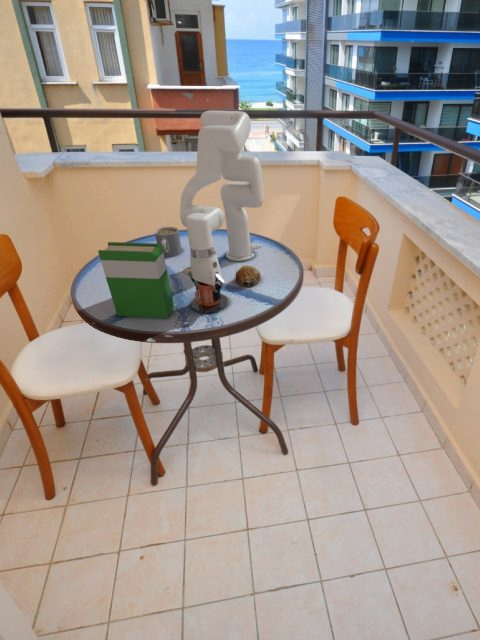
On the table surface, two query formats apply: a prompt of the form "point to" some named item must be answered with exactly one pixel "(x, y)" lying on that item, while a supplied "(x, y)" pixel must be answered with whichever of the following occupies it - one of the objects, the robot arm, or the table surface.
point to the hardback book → (137, 279)
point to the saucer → (210, 309)
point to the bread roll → (247, 276)
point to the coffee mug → (169, 240)
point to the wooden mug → (205, 294)
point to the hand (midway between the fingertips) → (209, 297)
